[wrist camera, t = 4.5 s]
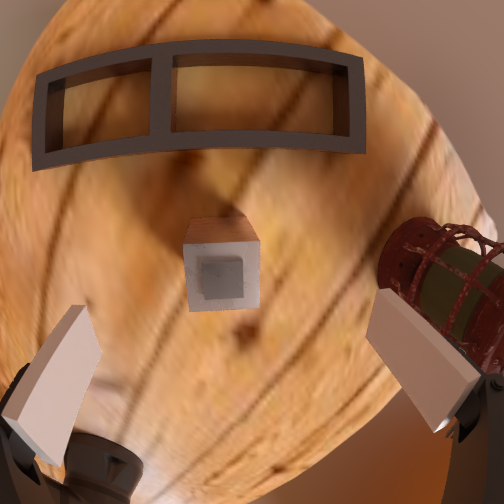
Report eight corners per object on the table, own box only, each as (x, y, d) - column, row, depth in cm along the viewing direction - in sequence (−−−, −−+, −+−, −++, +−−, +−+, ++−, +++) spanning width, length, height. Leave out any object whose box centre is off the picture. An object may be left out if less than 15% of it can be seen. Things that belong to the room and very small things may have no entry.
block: (194, 269, 23) (189, 315, 17) (191, 218, 22) (181, 246, 15) (246, 266, 24) (260, 311, 17) (246, 215, 23) (261, 243, 16)
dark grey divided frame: (50, 168, 18) (32, 171, 16) (53, 81, 16) (36, 75, 13) (348, 153, 22) (365, 154, 19) (346, 66, 19) (362, 57, 16)
